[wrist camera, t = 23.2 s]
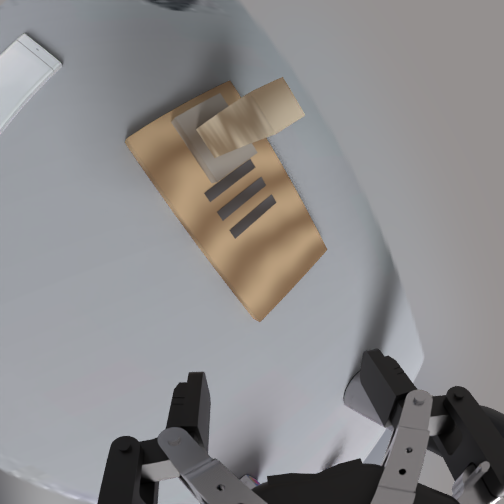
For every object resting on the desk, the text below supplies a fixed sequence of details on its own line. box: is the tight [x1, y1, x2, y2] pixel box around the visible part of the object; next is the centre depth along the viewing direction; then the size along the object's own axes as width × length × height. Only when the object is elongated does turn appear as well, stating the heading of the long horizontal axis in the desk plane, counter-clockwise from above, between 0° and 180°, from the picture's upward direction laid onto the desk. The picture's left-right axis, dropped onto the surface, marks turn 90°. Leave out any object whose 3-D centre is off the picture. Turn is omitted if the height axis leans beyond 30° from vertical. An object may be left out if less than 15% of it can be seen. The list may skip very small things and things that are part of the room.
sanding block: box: [171, 77, 305, 183], centre depth 24 cm, size 8×6×12 cm
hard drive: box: [0, 33, 62, 135], centre depth 17 cm, size 2×8×12 cm
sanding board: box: [125, 81, 327, 322], centre depth 33 cm, size 26×14×2 cm, turn 36°
